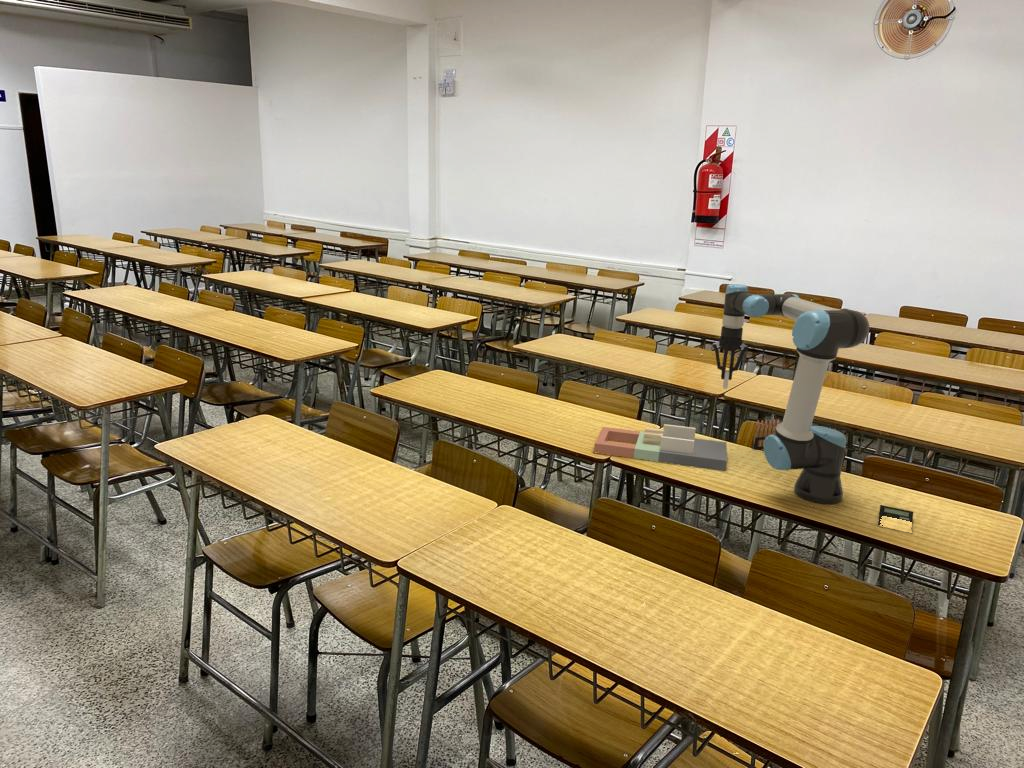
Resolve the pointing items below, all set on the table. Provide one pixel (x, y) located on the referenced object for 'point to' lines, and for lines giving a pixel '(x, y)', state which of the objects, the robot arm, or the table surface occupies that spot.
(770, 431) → the ammunition clip
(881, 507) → the calculator
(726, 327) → the robot arm
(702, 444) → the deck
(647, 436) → the block
